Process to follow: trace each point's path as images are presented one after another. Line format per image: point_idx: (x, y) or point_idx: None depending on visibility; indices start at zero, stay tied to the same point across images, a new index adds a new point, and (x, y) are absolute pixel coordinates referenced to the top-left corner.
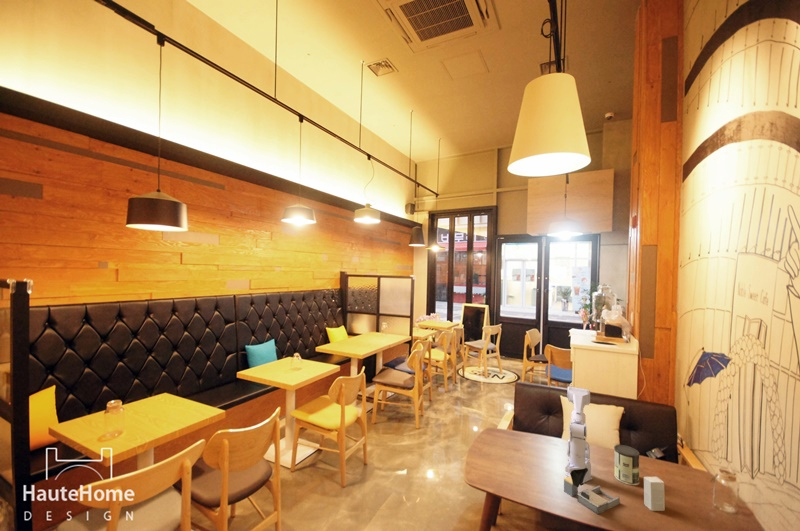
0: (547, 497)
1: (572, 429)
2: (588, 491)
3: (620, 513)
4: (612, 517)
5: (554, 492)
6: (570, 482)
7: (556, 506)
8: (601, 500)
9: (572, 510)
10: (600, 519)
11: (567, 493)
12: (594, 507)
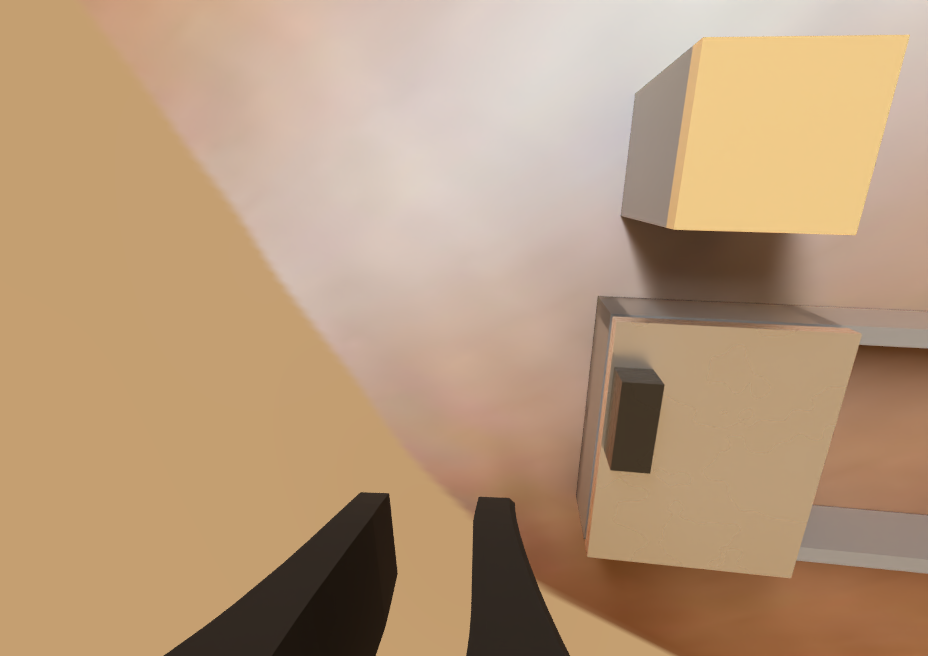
0: (335, 77)
1: None
2: (795, 375)
3: (786, 585)
4: (657, 570)
5: (502, 45)
6: (678, 194)
7: (309, 237)
8: (735, 536)
9: (411, 351)
10: (534, 531)
11: (629, 149)
12: (586, 497)
